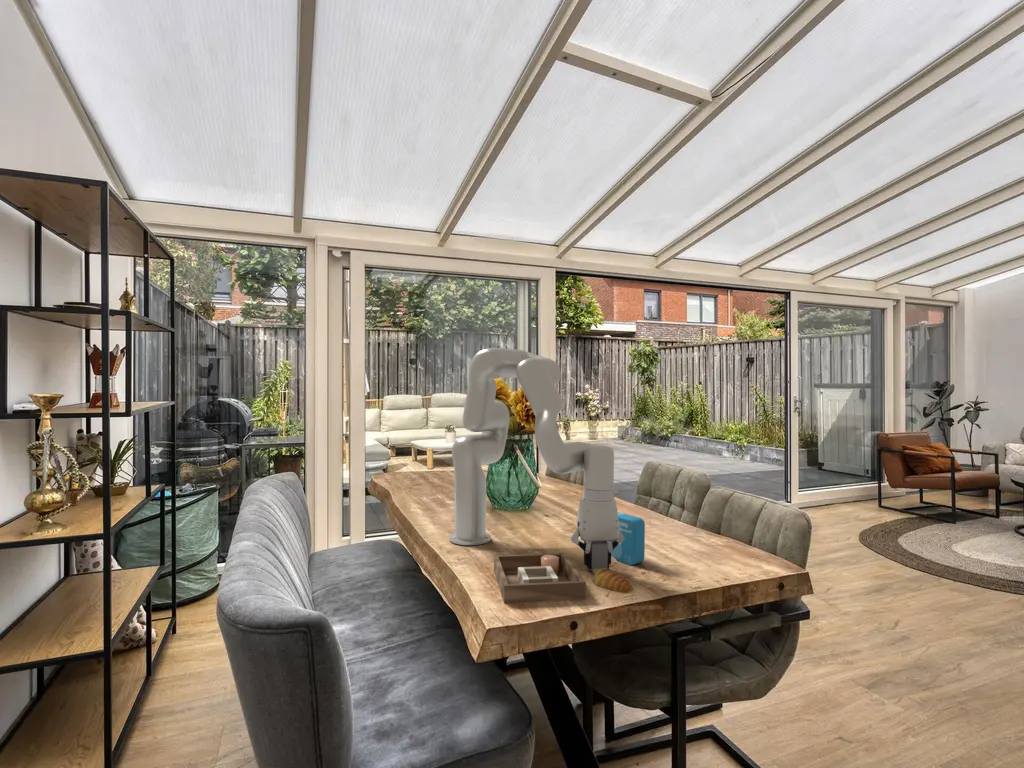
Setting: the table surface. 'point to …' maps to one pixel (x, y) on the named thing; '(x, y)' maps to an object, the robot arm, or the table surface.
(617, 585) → the pastry
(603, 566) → the gray block
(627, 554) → the data package
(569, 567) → the crate
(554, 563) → the ball
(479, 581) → the table surface
